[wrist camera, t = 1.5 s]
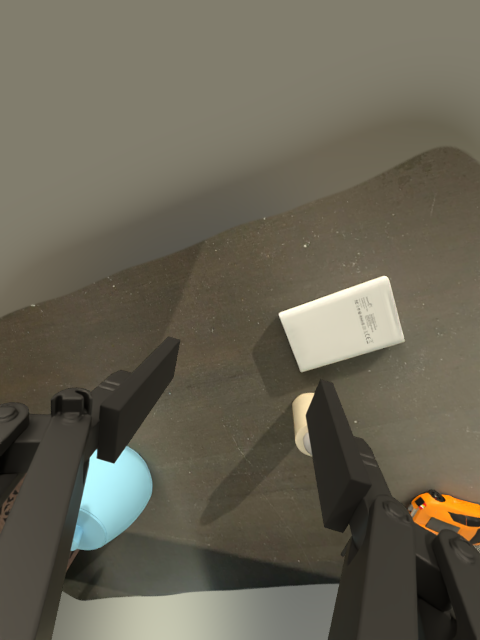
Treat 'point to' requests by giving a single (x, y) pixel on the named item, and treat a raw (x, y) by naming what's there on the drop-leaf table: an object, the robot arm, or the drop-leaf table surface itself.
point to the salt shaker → (302, 422)
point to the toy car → (447, 515)
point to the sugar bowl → (111, 499)
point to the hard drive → (343, 324)
